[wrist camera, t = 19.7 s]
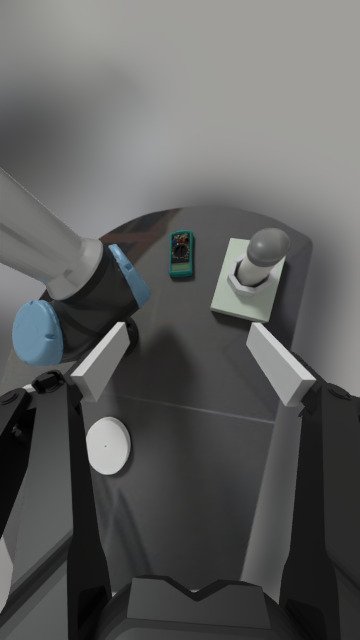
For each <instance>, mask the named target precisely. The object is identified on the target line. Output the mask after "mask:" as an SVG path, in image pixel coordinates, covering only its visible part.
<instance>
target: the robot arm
mask: <svg viewBox="0 0 360 640" xmlns="http://www.w3.org/2000/svg"><path fill="white" fill-rule="evenodd" d="M0 263H2V264H4V265H7V266H9V267H11V268H13V269H15V270H17V271H19V272H21V273H24V274H26V275H28V276H30V277H32V278H34V279H36V280H38V281H41V282H43V283H44V284H45V285H46V288H47V290H48V292H49V295H50V296H51V298H53V299H55V300H54V301H53V302H50V303H48V302H47V301H43V300H40V301H30V302H27V303H26V304H24V305H23V306H22V307H21V308H20V310H19V311H18V313H17V315H16V317H15V320H14V324H13V331H12V340H13V345H14V349H15V352H16V354H17V355H18V357H19V358H20V359H21V360H22V361H23V362H24V363H26V364H28V365H31V366H50V365H51V366H53V365H57V364H60V363H66V362H72V361H77V360H78V361H77V362H76V363H75V364H74V365H73V366H72V367H71V368H70V369H69V370H68V371H67V372H66V373H65V374H64V375H62V374H61V372H60V371H59V370H51V371H47V372H45V373H43V374H41V375H40V376H38V377H37V378H36V379H35V380H34V381H33V382H32V384H31V386H32V387H33V388H34V389H35V390H36V391H32V392H27V391H26V390H25V388H17V389H14V390H12V391H9V392H7V393H6V394H4V395H3V396H1V397H0V539H1V537H2V534H3V532H4V529H5V526H6V524H7V521H8V518H9V516H10V513H11V510H12V508H13V505H14V502H15V500H16V497H17V494H18V492H19V489H20V486H21V484H22V481H23V478H24V476H25V473H26V470H27V468H28V470H27V477H26V484H25V491H24V498H23V504H22V511H21V518H20V525H19V532H18V539H17V546H16V552H15V559H14V566H13V573H12V580H11V587H10V592H9V596H8V599H7V602H6V604H5V607H4V608H3V610H2V611H1V613H0V640H360V398H359V397H356V396H352V395H350V394H349V393H348V392H347V391H345V390H344V389H342V388H340V387H339V386H337V385H334V384H331V383H327V382H326V381H325V380H324V379H323V378H322V377H321V376H319V375H318V374H317V373H316V372H315V371H314V370H313V369H312V368H311V367H310V366H308V364H307V363H306V362H304V360H303V359H302V358H301V357H300V356H298V355H297V354H295V353H294V352H292V351H287V350H286V349H285V347H284V346H283V345H282V344H281V343H280V342H279V341H278V340H277V339H276V338H275V337H274V336H273V335H272V334H271V333H270V332H269V331H268V330H267V329H266V328H265V327H264V326H263V325H262V324H261V323H252V325H251V329H250V332H249V336H248V339H247V343H246V345H247V346H248V348H249V349H250V351H251V353H252V354H253V356H254V357H255V359H256V360H257V362H258V364H259V365H260V367H261V368H262V370H263V372H264V373H265V375H266V376H267V378H268V380H269V381H270V383H271V384H272V386H273V387H274V389H275V391H276V392H277V394H278V395H279V397H280V399H281V400H282V402H283V403H284V405H285V406H290V407H291V406H292V407H297V406H298V405H299V403H300V402H302V403H303V405H304V406H305V407H304V409H303V410H302V411H301V412H300V414H299V417H301V416H302V426H301V436H300V447H299V458H298V469H297V479H296V490H295V501H294V511H293V522H292V533H291V544H290V552H289V556H288V559H287V561H286V563H285V565H284V570H283V574H282V580H281V588H280V597H279V605H278V604H277V603H276V602H275V601H274V600H273V599H272V598H270V597H269V596H268V595H267V594H265V593H264V592H263V590H262V587H261V586H257V585H254V584H250V583H247V582H243V581H230V580H218V581H216V582H214V583H212V584H210V585H208V586H206V587H205V588H203V589H201V590H199V591H197V592H191V591H190V590H188V589H187V588H185V587H184V586H182V585H181V584H179V583H178V582H176V581H175V580H173V579H172V578H170V577H169V576H157V575H141V576H138V577H134V578H133V579H132V582H130V583H128V584H127V585H126V586H124V587H123V588H122V589H120V590H119V591H118V592H117V593H116V594H115V595H114V596H113V597H112V592H111V586H110V579H109V572H108V566H107V561H106V557H105V553H104V551H103V548H102V546H101V542H100V537H99V530H98V523H97V516H96V509H95V501H94V494H93V487H92V480H91V472H90V465H89V458H88V450H87V443H86V436H85V429H84V421H83V414H82V407H81V403H80V401H81V399H82V398H83V397H84V399H85V401H86V402H97V400H98V399H99V397H100V395H101V393H102V392H103V390H104V388H105V386H106V385H107V383H108V381H109V379H110V377H111V376H112V374H113V372H114V370H115V369H116V367H117V365H118V363H119V362H120V360H121V358H124V357H126V356H127V355H129V354H130V353H131V352H132V351H133V349H134V347H135V345H136V343H137V339H138V330H137V326H136V324H135V322H134V321H133V319H132V318H131V317H130V316H131V315H133V314H134V313H135V312H136V311H137V310H138V309H140V308H141V307H142V305H143V304H144V303H145V302H146V301H147V300H148V299H149V298H150V295H151V292H150V289H149V287H148V286H147V285H146V283H145V282H144V280H143V279H142V278H141V276H140V275H139V274H138V272H137V271H136V270H135V268H134V267H133V266H132V264H131V263H130V261H129V260H128V259H127V257H126V256H125V255H124V253H123V252H122V251H121V250H120V248H119V247H118V246H117V245H116V244H113V245H110V246H109V248H107V247H106V246H105V245H104V244H103V243H101V242H100V241H99V240H98V239H96V238H85V237H81V236H79V235H78V234H76V233H75V232H74V231H73V230H72V229H71V228H70V227H69V226H67V225H66V224H65V223H64V222H63V221H61V220H60V219H59V218H58V217H57V216H56V215H55V214H53V213H52V212H51V211H50V210H49V209H48V208H47V207H45V206H44V205H43V204H42V203H41V202H40V201H38V200H37V199H36V198H35V197H34V196H33V195H32V194H30V193H29V192H28V191H27V190H26V189H25V188H23V187H22V186H21V185H20V184H19V183H18V182H17V181H15V180H14V179H13V178H12V177H11V176H9V175H8V174H7V173H6V172H5V171H4V170H2V169H1V168H0Z"/></svg>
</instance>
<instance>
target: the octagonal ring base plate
mask: <svg viewBox="0 0 360 640" xmlns="http://www.w3.org/2000/svg"><path fill="white" fill-rule="evenodd" d="M249 242H250V240H242V239H234V238H231V239H230V243H229V246H228V249H227V253H226V256H225V260H224V263H223V267H222V270H221V274H220V277H219V281H218V284H217V287H216V291H215V294H214V298H213V301H212V305H211V311H215V312H219V313H223V314H227V315H231V316H235V317H239V318H243V319H247V320H251V321H255V322H259V323H265V322H269V318H270V314H271V310H272V306H273V302H274V298H275V295H276V291H277V287H278V283H279V279H280V275H281V271H282V268H283V264H284V260H285V256H286V255H285V256H284V257H283V259H282V260H281V261H280V262H279V263H277V264H276V265H275V266H274V267H273V269H272V270H271V271H270V272H269V273H268V274H267V275H266V276H265V277H264V278H263V279H262V281H261V282H260V283H259V284H258V285H257V286H255V287H247V286H242V285H240V283H239V282H238V280H237V279H236V274H237V272H238V269H239V267H240V265H241V262H242V260H243V258H244V255H245V253H246V251H247V247H248V245H249Z"/></svg>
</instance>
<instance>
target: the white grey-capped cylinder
mask: <svg viewBox="0 0 360 640" xmlns="http://www.w3.org/2000/svg"><path fill="white" fill-rule="evenodd" d="M289 249H290V239H289V237H288V235H287V234H286V233H285V232H283V231H282V230H279V229H276V228H267V229H263V230H260V231H259V232H257V233H256V234H255V235H254V236H253V237H252V238H251V240H250V242H249V245H248V247H247V251H246V253H245V255H244V258H243V260H242V262H241V265H240V267H239V269H238V272H237V274H236V279H237V280H238V282H239V283H240V285H242V286H247V287H255V286H257V285H258V284H259V283H260V282H261V281H262V279H263V278H264V277H265V276H266V275H267V274H268V273H269V272H270V271H271V270H272V269H273V267H274V266H275V265H276V264H277V263H279V262H280V261H281V260H282V259H283V257H284V256H285V255H286V254H287V253H288V251H289Z"/></svg>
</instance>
